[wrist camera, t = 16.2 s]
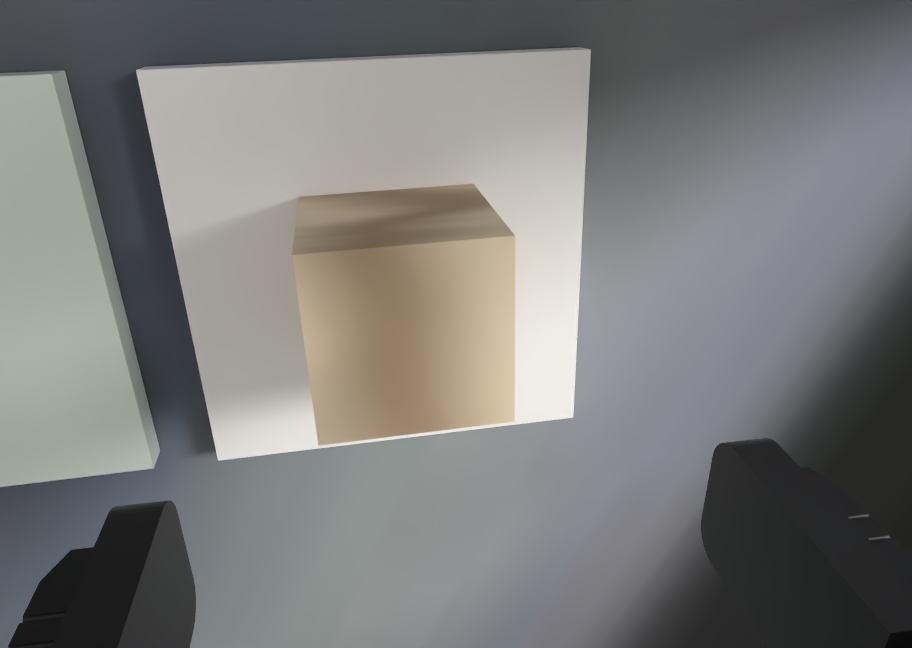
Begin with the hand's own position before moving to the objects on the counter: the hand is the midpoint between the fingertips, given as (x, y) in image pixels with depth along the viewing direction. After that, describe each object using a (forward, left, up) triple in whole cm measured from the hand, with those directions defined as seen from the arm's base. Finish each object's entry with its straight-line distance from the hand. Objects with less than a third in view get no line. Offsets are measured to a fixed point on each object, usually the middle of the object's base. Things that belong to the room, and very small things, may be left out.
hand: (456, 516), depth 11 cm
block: (0, +1, -12) cm, 12 cm away
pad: (0, 0, -13) cm, 13 cm away
